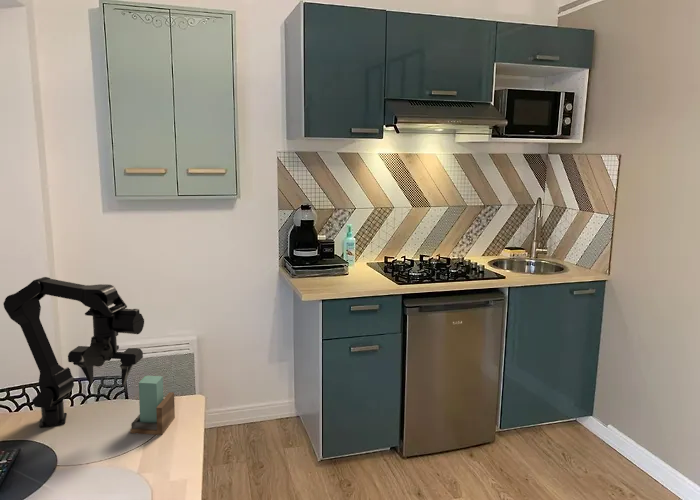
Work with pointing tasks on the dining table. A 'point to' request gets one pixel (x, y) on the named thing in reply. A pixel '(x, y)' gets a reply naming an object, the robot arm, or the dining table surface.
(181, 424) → the dining table surface
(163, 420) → the wall board cradle
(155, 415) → the teal block
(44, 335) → the robot arm
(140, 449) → the dining table surface
